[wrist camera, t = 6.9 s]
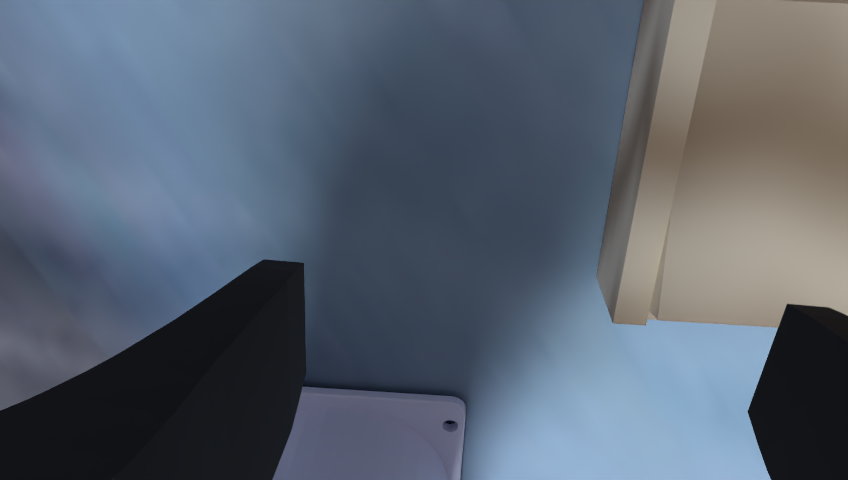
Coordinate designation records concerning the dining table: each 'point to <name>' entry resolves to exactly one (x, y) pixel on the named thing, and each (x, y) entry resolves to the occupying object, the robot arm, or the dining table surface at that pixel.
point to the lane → (731, 165)
